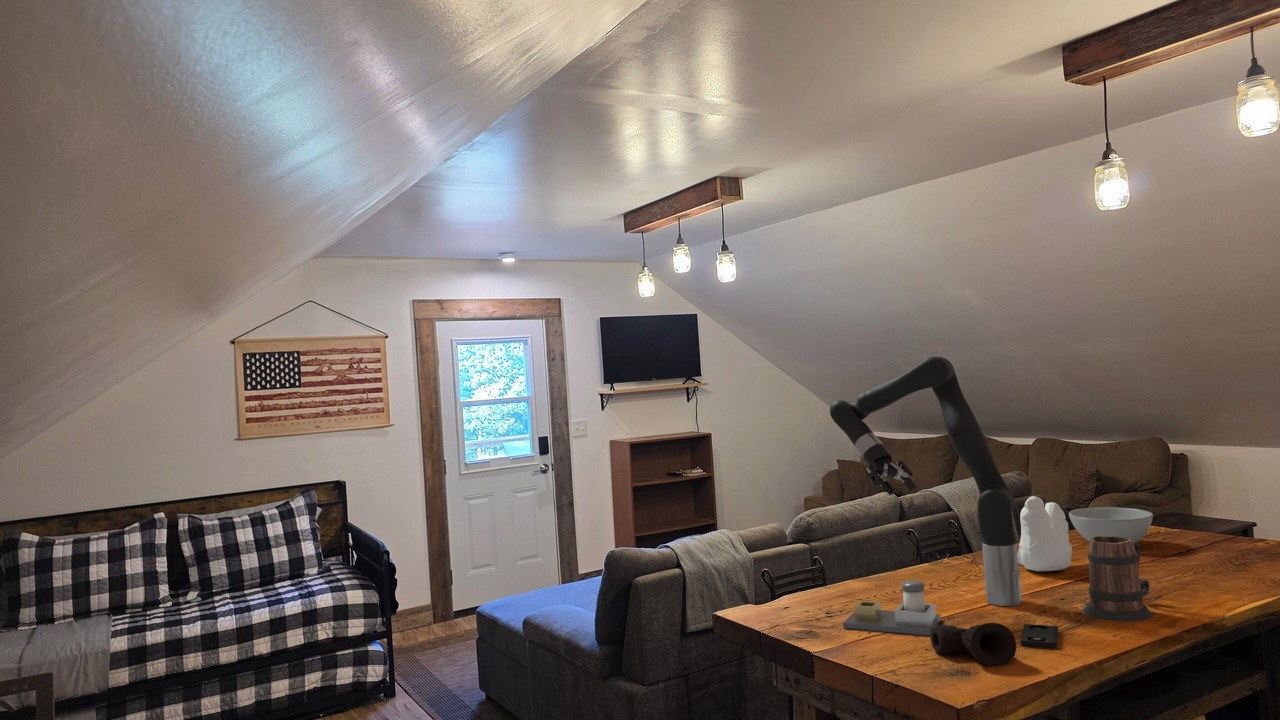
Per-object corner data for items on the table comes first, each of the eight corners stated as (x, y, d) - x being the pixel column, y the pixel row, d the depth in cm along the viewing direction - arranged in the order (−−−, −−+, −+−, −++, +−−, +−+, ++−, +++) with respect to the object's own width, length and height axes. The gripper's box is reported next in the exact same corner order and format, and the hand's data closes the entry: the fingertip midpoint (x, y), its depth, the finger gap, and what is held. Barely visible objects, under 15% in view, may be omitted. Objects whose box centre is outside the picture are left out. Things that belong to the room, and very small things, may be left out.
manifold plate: (941, 620, 233) (939, 601, 233) (930, 636, 220) (928, 616, 220) (858, 613, 244) (857, 596, 244) (843, 628, 231) (842, 610, 231)
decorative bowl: (1055, 542, 318) (1053, 510, 318) (1121, 536, 320) (1119, 505, 321) (1102, 557, 291) (1099, 522, 291) (1173, 550, 294) (1170, 515, 294)
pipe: (927, 617, 211) (952, 623, 196) (985, 616, 212) (1014, 622, 197) (930, 658, 209) (956, 667, 194) (989, 657, 210) (1019, 666, 195)
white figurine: (1047, 579, 267) (1041, 501, 267) (1006, 570, 281) (1000, 496, 282) (1099, 567, 278) (1093, 491, 278) (1057, 559, 292) (1051, 487, 293)
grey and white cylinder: (929, 618, 230) (926, 581, 230) (923, 624, 225) (920, 587, 225) (907, 615, 233) (905, 579, 233) (901, 622, 228) (899, 585, 228)
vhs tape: (1024, 631, 220) (1024, 623, 220) (1058, 633, 216) (1057, 626, 216) (1021, 648, 207) (1020, 640, 207) (1056, 651, 204) (1056, 643, 204)
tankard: (1131, 625, 217) (1125, 548, 218) (1069, 612, 232) (1063, 539, 232) (1178, 607, 229) (1172, 534, 230) (1116, 596, 244) (1110, 527, 244)
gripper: (860, 445, 253) (891, 486, 243) (895, 440, 260) (926, 480, 250) (849, 461, 258) (879, 502, 248) (884, 457, 265) (914, 496, 254)
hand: (903, 491), depth 249 cm, fingers open, 8 cm apart
